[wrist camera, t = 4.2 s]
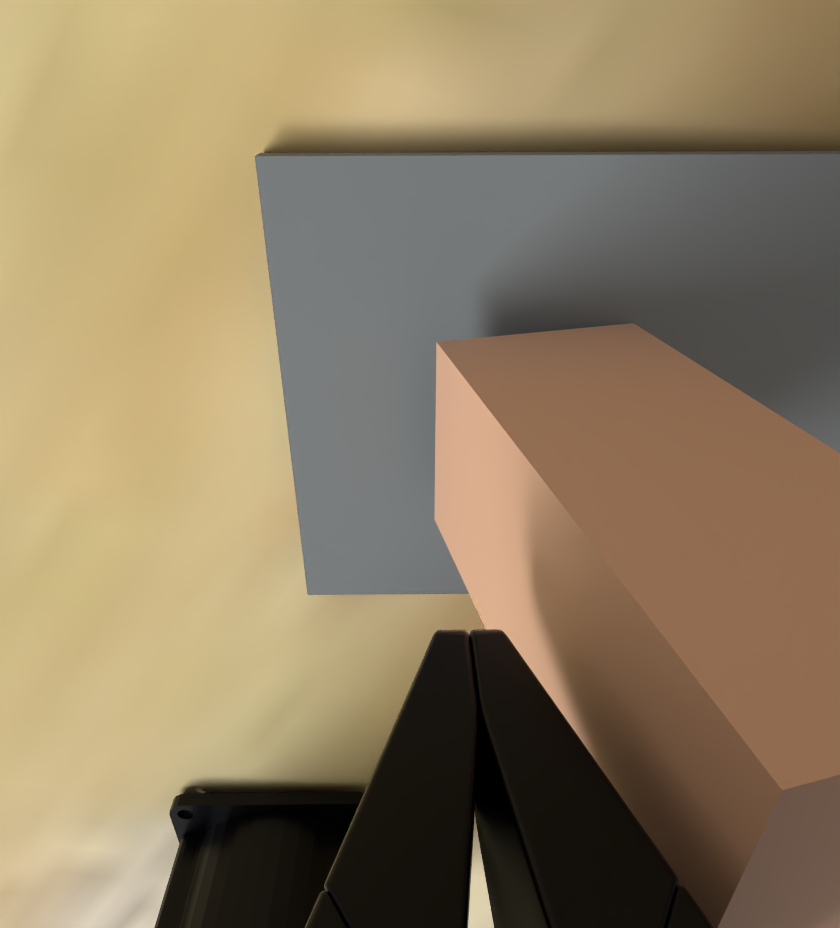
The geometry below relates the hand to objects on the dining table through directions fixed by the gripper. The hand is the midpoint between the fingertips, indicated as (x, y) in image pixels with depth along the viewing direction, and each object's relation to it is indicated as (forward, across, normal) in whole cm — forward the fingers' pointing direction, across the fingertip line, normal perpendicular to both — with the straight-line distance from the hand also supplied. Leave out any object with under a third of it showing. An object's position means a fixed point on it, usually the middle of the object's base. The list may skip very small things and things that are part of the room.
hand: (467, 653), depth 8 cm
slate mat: (+7, -5, 0) cm, 9 cm away
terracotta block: (+6, -2, 0) cm, 6 cm away
